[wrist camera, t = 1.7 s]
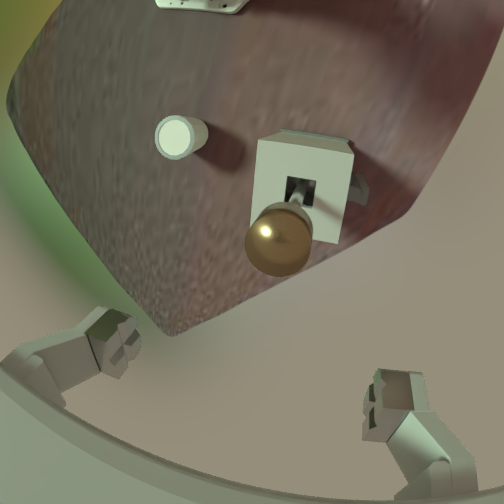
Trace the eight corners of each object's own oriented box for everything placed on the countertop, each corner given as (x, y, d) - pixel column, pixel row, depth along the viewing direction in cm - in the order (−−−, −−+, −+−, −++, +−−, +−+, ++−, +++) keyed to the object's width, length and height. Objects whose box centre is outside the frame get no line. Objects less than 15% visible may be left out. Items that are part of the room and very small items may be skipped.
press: (274, 191, 49) (246, 230, 34) (281, 128, 45) (254, 135, 29) (351, 205, 47) (360, 252, 31) (362, 142, 42) (381, 156, 27)
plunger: (272, 203, 38) (218, 285, 21) (278, 146, 35) (223, 180, 17) (329, 213, 37) (323, 307, 19) (338, 156, 34) (347, 201, 16)
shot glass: (168, 128, 49) (147, 131, 43) (199, 106, 46) (179, 106, 40) (187, 160, 51) (168, 168, 44) (219, 140, 48) (202, 144, 42)
